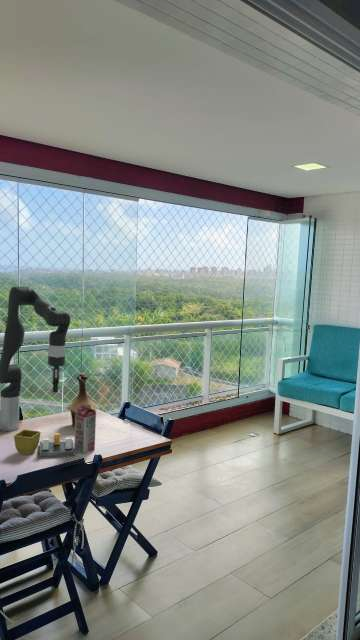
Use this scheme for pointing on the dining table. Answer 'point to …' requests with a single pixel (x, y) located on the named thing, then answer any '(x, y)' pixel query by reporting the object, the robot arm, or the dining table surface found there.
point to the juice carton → (85, 429)
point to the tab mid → (57, 438)
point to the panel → (56, 450)
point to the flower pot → (27, 441)
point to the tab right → (68, 442)
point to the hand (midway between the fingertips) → (55, 392)
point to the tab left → (45, 443)
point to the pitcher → (81, 398)
